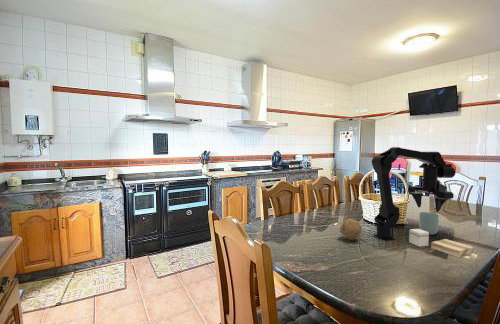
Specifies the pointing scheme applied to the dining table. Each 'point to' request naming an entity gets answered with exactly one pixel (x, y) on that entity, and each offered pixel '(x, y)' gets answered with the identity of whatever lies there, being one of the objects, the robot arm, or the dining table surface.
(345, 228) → the natural sponge
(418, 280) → the dining table surface
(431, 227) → the cup
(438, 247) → the oak block
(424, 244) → the white lidded box
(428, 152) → the robot arm
